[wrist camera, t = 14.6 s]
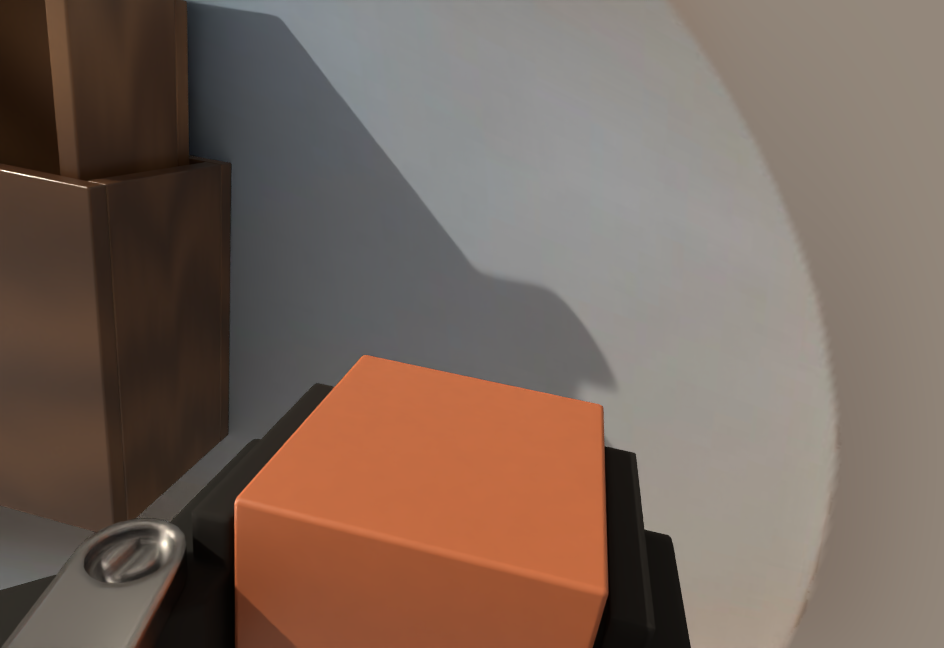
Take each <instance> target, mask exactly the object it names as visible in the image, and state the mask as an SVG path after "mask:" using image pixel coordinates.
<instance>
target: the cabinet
mask: <svg viewBox="0 0 944 648" xmlns="http://www.w3.org/2000/svg"><path fill="white" fill-rule="evenodd" d="M230 225H231V163H228V162H223V161H218V160H212V159H207V158H202V157H197V156H192V155H189V165H184V166H178V167H171V168H165V169H158V170H152V171H146V172H139V173H133V174H127V175H120V176H114V177H108V178H101V179H95V180H89V181H84V180H79V179H74V178H69V177H64V176H60V175H55V174H50V173H45V172H40V171H35V170H30V169H25V168H20V167H15V166H10V165H5V164H0V506H4V507H7V508H11V509H15V510H18V511H22V512H25V513H29V514H33V515H36V516H40V517H43V518H47V519H51V520H54V521H58V522H61V523H65V524H69V525H72V526H76V527H79V528H83V529H86V530H90V531H94V532H98V531H99V530H101V529H103V528H105V527H108V526H110V525H113V524H115V523H118V522H122V521H126V520H131V519H135V518H136V517H138V516H139V515H140V514H141V513H142V512H143V511H144V510H145V509H146V508H147V507H149V506H150V505H151V504H152V503H153V502H154V501H155V500H156V499H157V498H158V497H160V496H161V495H162V494H163V493H164V492H165V491H166V490H167V489H168V488H170V487H171V486H172V485H173V484H174V483H175V482H176V481H177V480H178V479H179V478H181V477H182V476H183V475H184V474H185V473H186V472H187V471H188V470H189V469H190V468H192V467H193V466H194V465H195V464H196V463H197V462H198V461H199V460H200V459H201V458H203V457H204V456H205V455H206V454H207V453H208V452H209V451H210V450H211V449H212V448H214V447H215V446H216V445H217V444H218V443H219V442H220V441H222V440H223V439H224V438H225V437H226V436H227V435H228V417H229V321H230Z"/></svg>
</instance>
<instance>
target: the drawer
mask: <svg viewBox="0 0 944 648" xmlns="http://www.w3.org/2000/svg"><path fill="white" fill-rule="evenodd" d="M0 164H5V165H10V166H15V167H20V168H25V169H30V170H35V171H40V172H45V173H50V174H55V175H60V176H64V177H69V178H74V179H79V180H84V181H89V180H95V179H101V178H108V177H114V176H120V175H127V174H133V173H139V172H146V171H152V170H158V169H165V168H171V167H178V166H184V165H189V115H188V44H187V2H186V1H185V0H0Z"/></svg>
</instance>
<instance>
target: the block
mask: <svg viewBox="0 0 944 648" xmlns="http://www.w3.org/2000/svg"><path fill="white" fill-rule="evenodd" d="M234 529H235V648H593V645H594V641H595V638H596V635H597V631H598V628H599V624H600V621H601V618H602V614H603V611H604V607H605V604H606V600H607V597H608V594H609V593H608V557H607V521H606V484H605V448H604V412H603V406H601V405H599V404H595V403H590V402H585V401H581V400H576V399H571V398H567V397H562V396H557V395H552V394H548V393H543V392H538V391H534V390H529V389H524V388H519V387H515V386H510V385H505V384H501V383H496V382H491V381H486V380H482V379H477V378H472V377H468V376H463V375H458V374H453V373H449V372H444V371H439V370H435V369H430V368H425V367H420V366H416V365H411V364H406V363H402V362H397V361H392V360H387V359H383V358H378V357H373V356H369V355H363V356H362V357H361V358H360V359H359V360H358V361H357V362H356V364H355V365H354V366H353V367H352V368H351V369H350V370H349V371H348V373H347V374H346V375H345V376H344V377H343V378H342V379H341V380H340V382H339V383H338V384H337V385H336V386H335V387H334V388H333V389H332V391H331V392H330V393H329V394H328V395H327V396H326V397H325V398H324V400H323V401H322V402H321V403H320V404H319V405H318V406H317V407H316V409H315V410H314V411H313V412H312V413H311V414H310V415H309V416H308V418H307V419H306V420H305V421H304V422H303V423H302V424H301V426H300V427H299V428H298V429H297V430H296V431H295V432H294V433H293V435H292V436H291V437H290V438H289V439H288V440H287V441H286V442H285V444H284V445H283V446H282V447H281V448H280V449H279V450H278V451H277V453H276V454H275V455H274V456H273V457H272V458H271V459H270V460H269V462H268V463H267V464H266V465H265V466H264V467H263V468H262V469H261V471H260V472H259V473H258V474H257V475H256V476H255V477H254V478H253V480H252V481H251V482H250V483H249V484H248V485H247V486H246V487H245V489H244V490H243V491H242V492H241V493H240V494H239V495H238V496H237V498H236V500H235V503H234Z"/></svg>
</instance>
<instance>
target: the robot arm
mask: <svg viewBox="0 0 944 648" xmlns="http://www.w3.org/2000/svg"><path fill="white" fill-rule="evenodd" d="M333 388H334V387H333V386H328V385H324V384H319V383H316V384H314V385H313V386H312V387H311V388H310V389H309V390H308V391H307V392H306V393H305V394H304V395H303V396H302V398H301V399H300V400H299V401H298V402H297V403H296V404H295V405H294V406H293V407H292V408H291V409H290V410H289V411H288V412H287V413H286V414H285V415H284V416H283V417H282V418H281V419H280V420H279V421H278V422H277V423H276V424H275V425H274V426H273V428H272V429H271V430H270V431H269V432H268V433H267V434H266V435H265V436H264V437H263V438H262V439H261V440H260V439H255V440H252V441H251V442H250V443H248V444H247V445H246V446H245V447H244V448H243V449H242V450H241V451H240V452H239V453H238V454H237V455H236V456H235V457H234V458H233V459H232V460H231V461H230V462H229V463H228V464H227V465H226V466H225V467H224V468H223V469H222V470H221V471H220V472H219V473H218V474H217V475H216V476H215V477H214V478H213V479H212V480H211V481H210V482H209V483H208V484H207V485H206V486H205V487H204V488H203V489H202V490H201V491H200V492H199V493H198V494H197V495H196V496H195V497H194V499H193V500H192V501H191V502H190V503H189V504H188V505H187V506H186V507H185V508H184V509H183V510H182V511H181V512H180V513H179V514H178V515H177V516H176V517H175V518H174V519H173V520H172V521H171V522H168V521H165V520H160V519H154V518H136V519H131V520H126V521H122V522H118V523H115V524H113V525H110V526H108V527H105V528H103V529H101V530H99V531H98V532H96V533H94V534H93V535H91V536H90V537H88V538H87V539H86V540H85V541H84V542H83V543H82V544H81V545H80V546H79V547H78V548H77V549H76V550H75V552H74V553H73V554H72V555H71V557H70V558H69V559H68V561H67V562H66V563H65V565H64V566H63V567H62V569H61V570H60V571H59V572H58V574H57V575H53V576H50V577H46V578H42V579H39V580H35V581H32V582H28V583H25V584H21V585H17V586H14V587H10V588H7V589H3V590H0V648H235V529H234V503H235V500H236V498H237V496H238V495H239V494H240V493H241V492H242V491H243V490H244V489H245V487H246V486H247V485H248V484H249V483H250V482H251V481H252V480H253V478H254V477H255V476H256V475H257V474H258V473H259V472H260V471H261V469H262V468H263V467H264V466H265V465H266V464H267V463H268V462H269V460H270V459H271V458H272V457H273V456H274V455H275V454H276V453H277V451H278V450H279V449H280V448H281V447H282V446H283V445H284V444H285V442H286V441H287V440H288V439H289V438H290V437H291V436H292V435H293V433H294V432H295V431H296V430H297V429H298V428H299V427H300V426H301V424H302V423H303V422H304V421H305V420H306V419H307V418H308V416H309V415H310V414H311V413H312V412H313V411H314V410H315V409H316V407H317V406H318V405H319V404H320V403H321V402H322V401H323V400H324V398H325V397H326V396H327V395H328V394H329V393H330V392H331V391H332V389H333ZM604 448H605V484H606V521H607V557H608V593H609V594H608V597H607V600H606V604H605V607H604V611H603V614H602V618H601V621H600V624H599V628H598V631H597V635H596V638H595V641H594V645H593V648H691V646H690V640H689V634H688V629H687V623H686V617H685V611H684V605H683V600H682V594H681V588H680V582H679V576H678V571H677V565H676V559H675V553H674V547H673V543H672V539H671V537H670V536H669V535H665V534H661V533H656V532H652V531H648V530H644V522H643V514H642V505H641V496H640V487H639V478H638V469H637V460H636V454H635V453H632V452H628V451H623V450H619V449H614V448H610V447H604Z"/></svg>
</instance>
